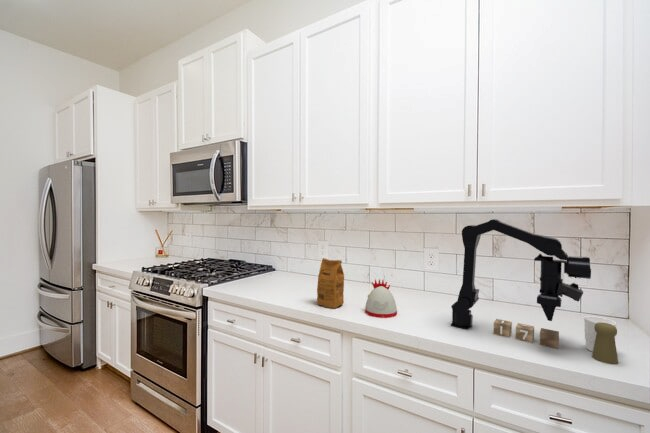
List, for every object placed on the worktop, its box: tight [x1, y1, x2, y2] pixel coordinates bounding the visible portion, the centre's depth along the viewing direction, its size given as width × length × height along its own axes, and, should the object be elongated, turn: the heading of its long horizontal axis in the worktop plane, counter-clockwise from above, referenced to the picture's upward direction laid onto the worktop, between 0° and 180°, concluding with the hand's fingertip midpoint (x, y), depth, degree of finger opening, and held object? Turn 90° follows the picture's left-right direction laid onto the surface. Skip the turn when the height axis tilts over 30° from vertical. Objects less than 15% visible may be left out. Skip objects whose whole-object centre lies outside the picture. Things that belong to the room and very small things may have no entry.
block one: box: [493, 318, 513, 339], centre depth 114 cm, size 5×5×5 cm
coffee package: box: [316, 257, 345, 309], centre depth 147 cm, size 10×12×22 cm
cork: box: [591, 322, 619, 365], centre depth 94 cm, size 6×6×11 cm
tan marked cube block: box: [514, 322, 535, 344], centre depth 109 cm, size 5×5×5 cm
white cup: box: [583, 315, 617, 353], centre depth 101 cm, size 8×8×10 cm
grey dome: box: [364, 278, 398, 319], centre depth 137 cm, size 14×14×15 cm
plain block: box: [539, 327, 560, 350], centre depth 105 cm, size 5×5×4 cm
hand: (549, 320), depth 105 cm, fingers closed
